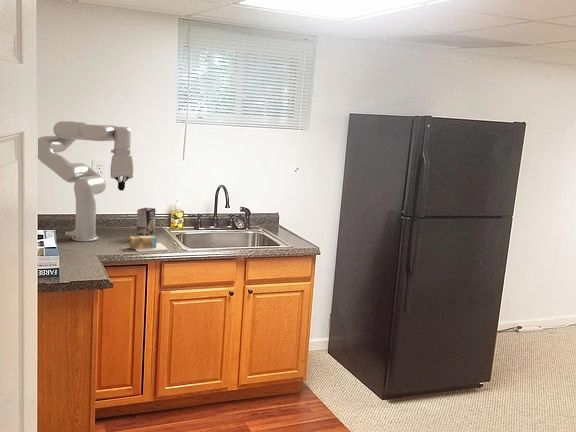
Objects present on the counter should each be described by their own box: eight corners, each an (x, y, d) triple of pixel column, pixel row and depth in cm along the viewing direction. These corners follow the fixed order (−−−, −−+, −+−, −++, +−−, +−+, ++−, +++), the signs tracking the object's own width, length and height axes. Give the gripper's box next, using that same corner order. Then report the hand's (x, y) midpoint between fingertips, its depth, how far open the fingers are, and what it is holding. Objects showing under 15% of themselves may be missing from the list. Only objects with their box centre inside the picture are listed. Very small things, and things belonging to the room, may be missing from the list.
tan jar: (131, 238, 281) (156, 237, 286) (129, 236, 285) (153, 235, 291) (131, 248, 281) (156, 247, 287) (129, 246, 286) (153, 245, 292)
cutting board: (137, 252, 278) (137, 250, 278) (130, 245, 290) (130, 244, 290) (168, 250, 286) (168, 249, 286) (159, 244, 298) (159, 242, 298)
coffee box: (147, 241, 301) (148, 210, 298) (135, 240, 302) (136, 209, 300) (155, 238, 310) (156, 208, 307) (143, 237, 311) (144, 207, 308)
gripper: (108, 152, 277) (107, 191, 280) (139, 153, 285) (138, 191, 288) (104, 151, 284) (103, 189, 287) (135, 152, 291) (134, 189, 294)
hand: (121, 190), depth 287 cm, fingers closed
